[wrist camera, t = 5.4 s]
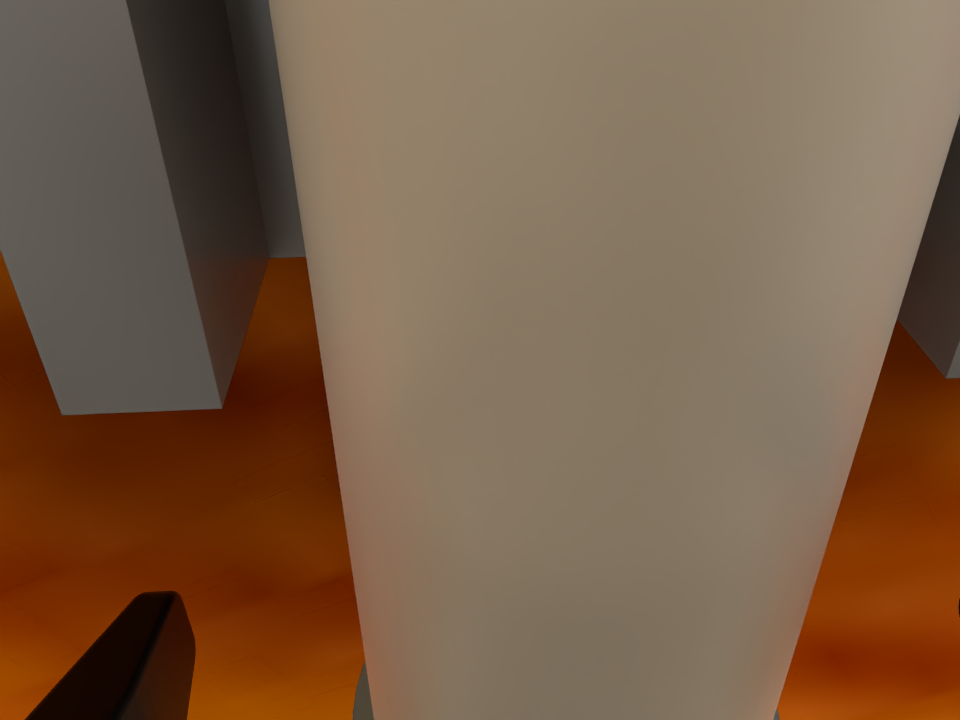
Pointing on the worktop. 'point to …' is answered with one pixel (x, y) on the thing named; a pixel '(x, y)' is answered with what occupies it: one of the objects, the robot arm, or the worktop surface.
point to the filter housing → (202, 198)
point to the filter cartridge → (603, 327)
